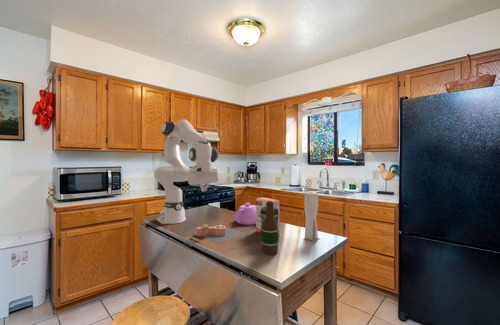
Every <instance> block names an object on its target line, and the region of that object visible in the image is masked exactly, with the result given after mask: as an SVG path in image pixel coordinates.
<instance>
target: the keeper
mask: <svg viewBox="0 0 500 325" xmlns="http://www.w3.org/2000/svg"><path fill="white" fill-rule="evenodd" d="M202 227H203V228H204V237H209V227H210V226H209V224H202ZM204 237H203V238H204Z"/></svg>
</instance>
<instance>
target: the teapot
mask: <svg viewBox="0 0 500 325" xmlns="http://www.w3.org/2000/svg"><path fill="white" fill-rule="evenodd" d="M234 220H235V222H236V223H237V224H239V225H243V226H251V225H253V226H254V225H255V226H256V204H251V203H250V202H245V203H244V204H243V205H240V206H239V207H238V209H237V210H236V213H235V217H234Z"/></svg>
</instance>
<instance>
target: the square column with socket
mask: <svg viewBox="0 0 500 325" xmlns="http://www.w3.org/2000/svg"><path fill="white" fill-rule="evenodd" d="M225 227H226V225H222V228H218V225H214V226H209V235H215V236H225ZM196 232H197V235H196V236H197V237H201V236H204V228H203V226H198V227H196Z"/></svg>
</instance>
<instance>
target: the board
mask: <svg viewBox="0 0 500 325" xmlns="http://www.w3.org/2000/svg"><path fill="white" fill-rule="evenodd" d="M192 234H194V235H196V236H197V231H195V232H192ZM244 235H248V234H247V232H243V231H239V230H237V229H233V228H230V227H226V226H225V236H215V235H209V237H204V236H200V237H201V238H203V239H206V240H209V241H212V242H214V243H217V244H221V243H224V242H226V241H230V240H233V239H235V238H238V237H241V236H244Z"/></svg>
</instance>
